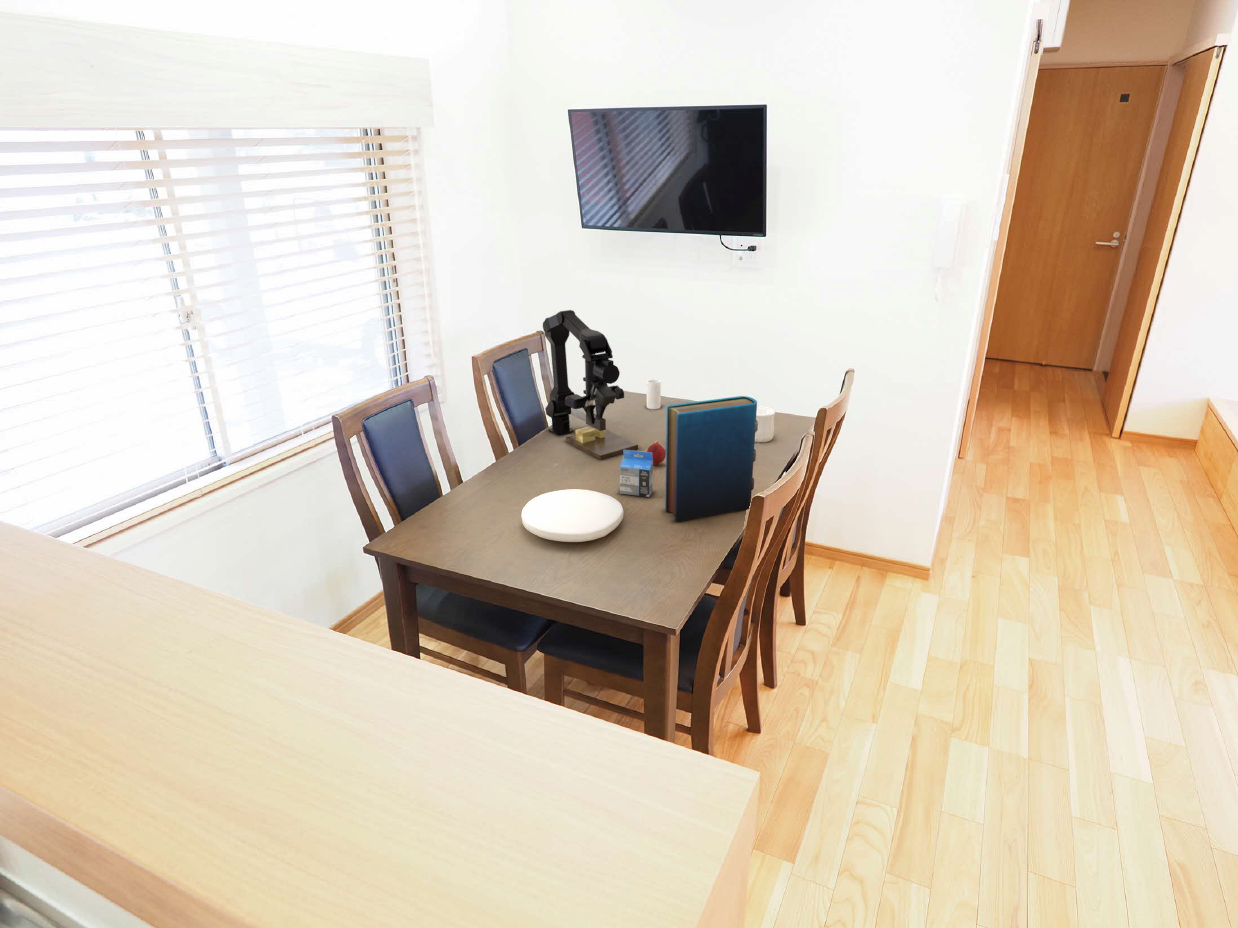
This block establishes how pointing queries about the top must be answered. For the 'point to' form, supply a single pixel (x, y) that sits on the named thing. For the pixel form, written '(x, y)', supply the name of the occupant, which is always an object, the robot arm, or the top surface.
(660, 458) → the onion
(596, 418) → the butter knife
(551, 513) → the white round disc
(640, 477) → the label tape box
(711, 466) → the book
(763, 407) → the cup
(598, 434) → the butter slice
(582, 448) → the cutting board
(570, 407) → the robot arm
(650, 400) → the cup
